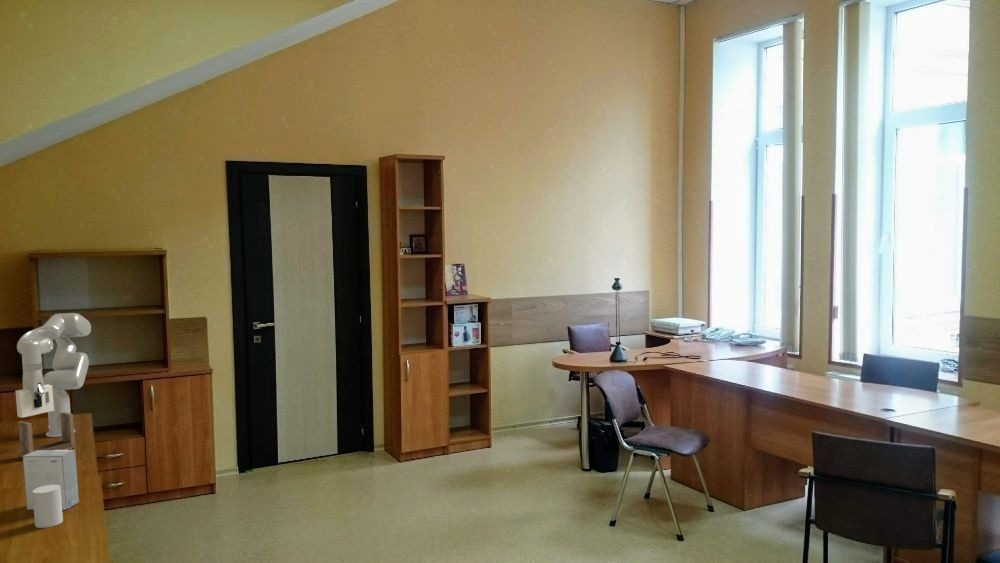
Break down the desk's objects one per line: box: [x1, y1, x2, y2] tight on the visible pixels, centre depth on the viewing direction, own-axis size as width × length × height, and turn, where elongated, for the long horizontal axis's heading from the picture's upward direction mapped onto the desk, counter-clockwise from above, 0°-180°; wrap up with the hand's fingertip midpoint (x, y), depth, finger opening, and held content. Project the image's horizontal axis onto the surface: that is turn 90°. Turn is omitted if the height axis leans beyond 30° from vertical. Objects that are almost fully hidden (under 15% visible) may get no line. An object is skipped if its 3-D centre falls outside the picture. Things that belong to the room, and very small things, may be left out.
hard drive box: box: [22, 449, 80, 511], centre depth 269 cm, size 16×8×20 cm, turn 84°
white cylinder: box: [33, 485, 64, 529], centre depth 253 cm, size 8×8×12 cm
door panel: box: [15, 384, 54, 418], centre depth 342 cm, size 4×14×12 cm, turn 148°
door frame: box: [18, 412, 76, 458], centre depth 336 cm, size 8×20×16 cm, turn 148°
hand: (35, 406), depth 342 cm, fingers closed on door panel, 4 cm apart
